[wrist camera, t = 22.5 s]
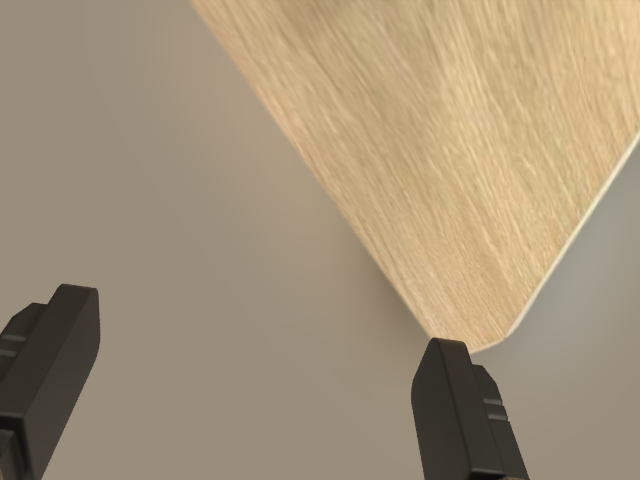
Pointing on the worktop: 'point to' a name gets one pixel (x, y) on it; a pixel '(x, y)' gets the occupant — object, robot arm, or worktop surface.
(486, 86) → the worktop surface
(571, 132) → the worktop surface
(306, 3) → the worktop surface
